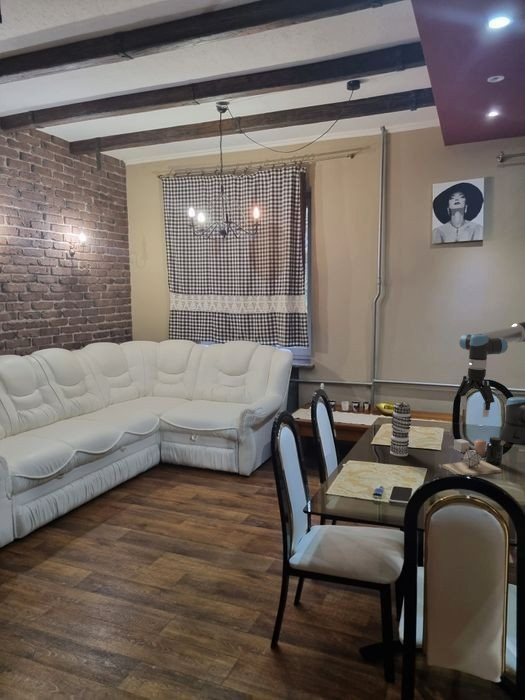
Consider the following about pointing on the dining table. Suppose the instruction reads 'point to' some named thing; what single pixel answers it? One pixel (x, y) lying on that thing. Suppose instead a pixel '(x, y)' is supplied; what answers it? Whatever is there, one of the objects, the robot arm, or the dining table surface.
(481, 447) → the terracotta cylinder
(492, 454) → the supplement bottle
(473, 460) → the game die
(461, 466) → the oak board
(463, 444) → the grey block
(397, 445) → the tower model
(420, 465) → the dining table surface
